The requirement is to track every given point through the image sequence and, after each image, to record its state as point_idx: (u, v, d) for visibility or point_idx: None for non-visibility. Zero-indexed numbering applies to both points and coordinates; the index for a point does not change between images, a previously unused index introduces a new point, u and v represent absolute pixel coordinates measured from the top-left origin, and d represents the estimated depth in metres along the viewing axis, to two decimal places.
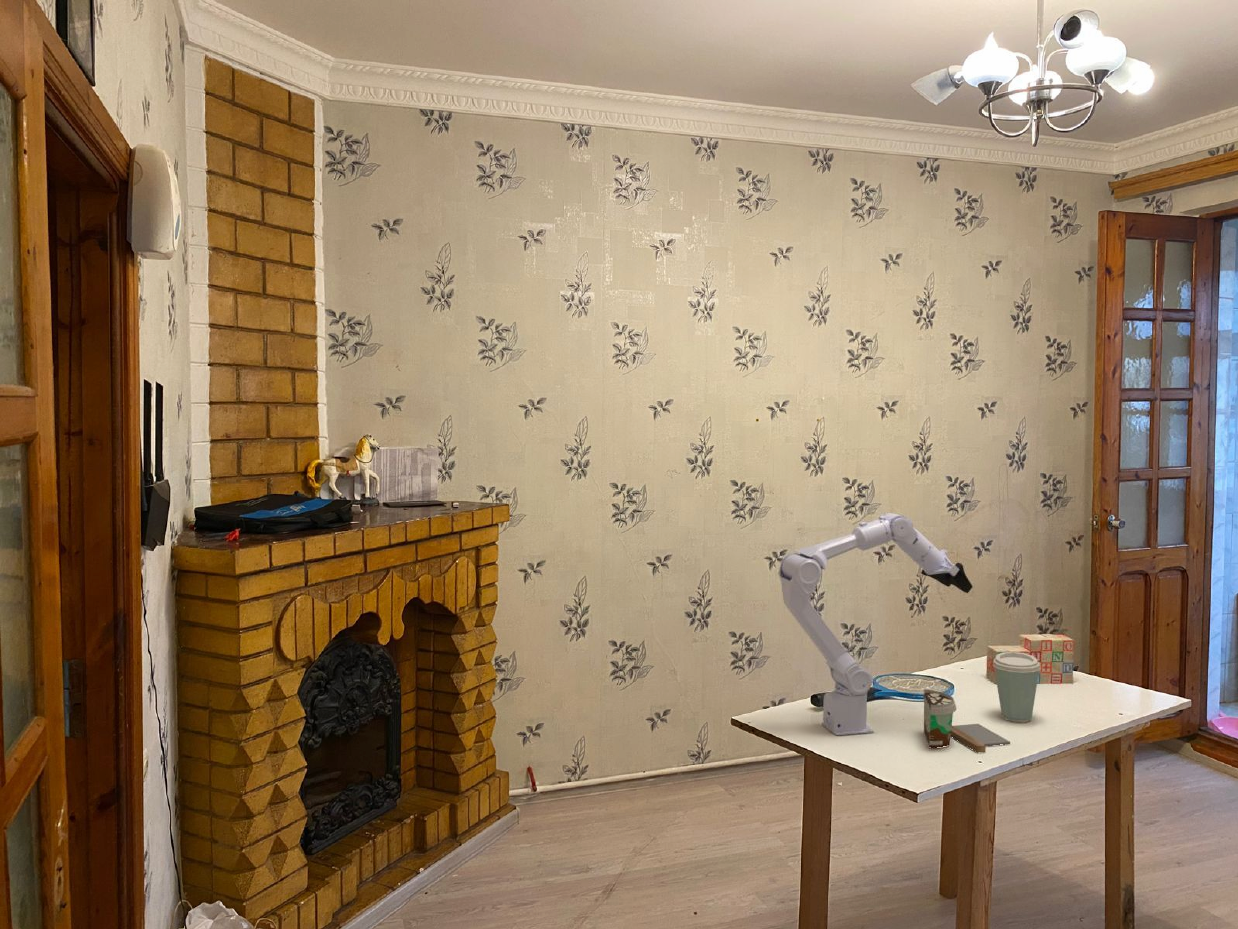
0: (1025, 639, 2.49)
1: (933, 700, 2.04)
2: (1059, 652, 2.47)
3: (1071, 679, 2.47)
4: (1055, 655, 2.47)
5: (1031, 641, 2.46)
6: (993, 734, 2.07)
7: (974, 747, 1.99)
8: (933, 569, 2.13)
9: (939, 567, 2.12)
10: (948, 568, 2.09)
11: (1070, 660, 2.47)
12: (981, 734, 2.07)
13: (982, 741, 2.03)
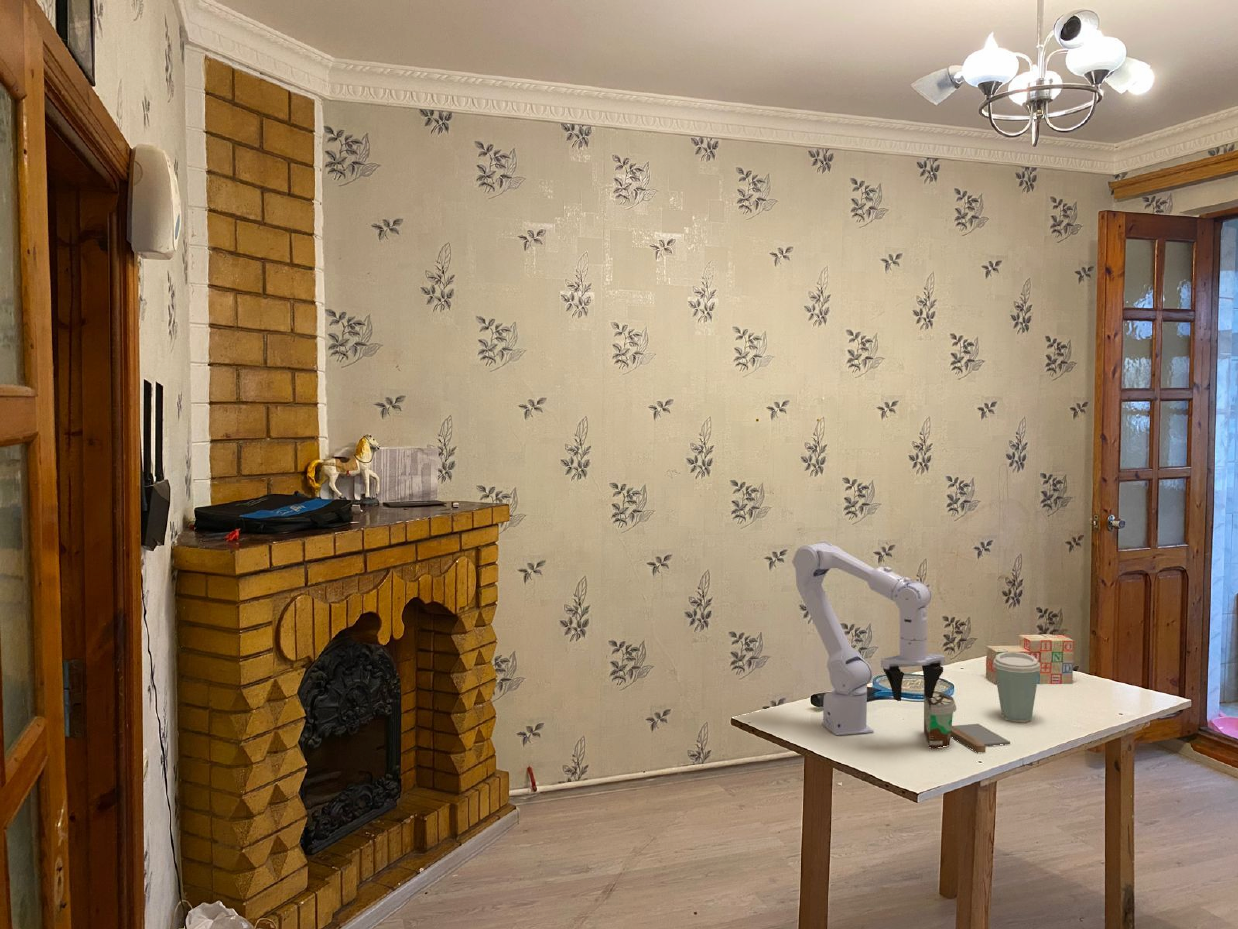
0: (1025, 639, 2.49)
1: (933, 700, 2.04)
2: (1059, 652, 2.47)
3: (1071, 679, 2.47)
4: (1055, 655, 2.47)
5: (1030, 641, 2.46)
6: (993, 734, 2.07)
7: (974, 747, 1.99)
8: None
9: (899, 658, 2.02)
10: None
11: (1070, 660, 2.47)
12: (981, 734, 2.07)
13: (982, 741, 2.03)
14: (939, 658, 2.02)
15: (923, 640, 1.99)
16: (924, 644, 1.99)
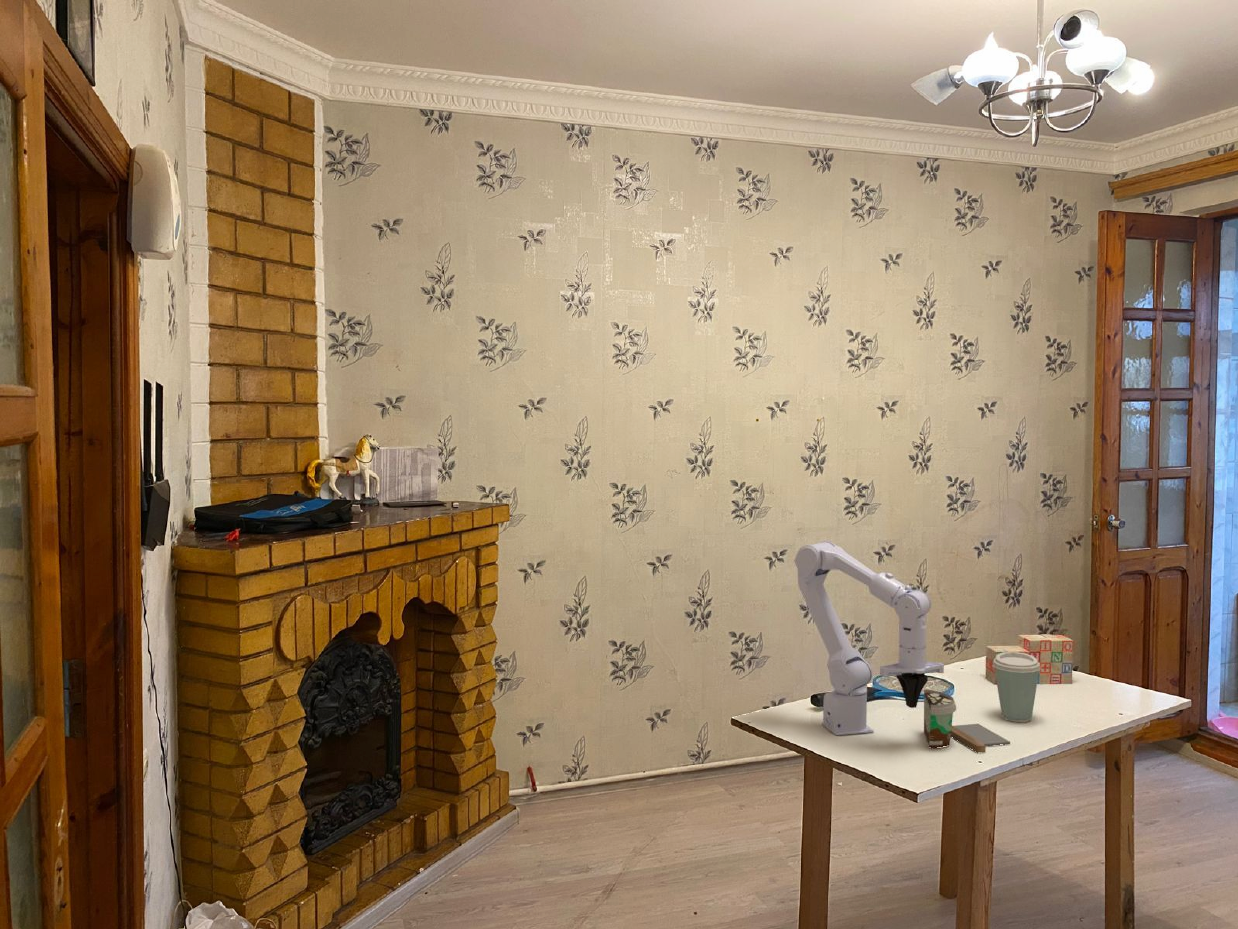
0: (1024, 639, 2.49)
1: (933, 700, 2.04)
2: (1058, 652, 2.47)
3: (1070, 679, 2.47)
4: (1055, 655, 2.47)
5: (1030, 641, 2.46)
6: (993, 734, 2.07)
7: (974, 747, 1.99)
8: None
9: (898, 666, 2.02)
10: None
11: (1069, 660, 2.47)
12: (981, 734, 2.07)
13: (982, 741, 2.03)
14: (938, 666, 2.02)
15: (922, 648, 1.99)
16: (923, 652, 2.00)
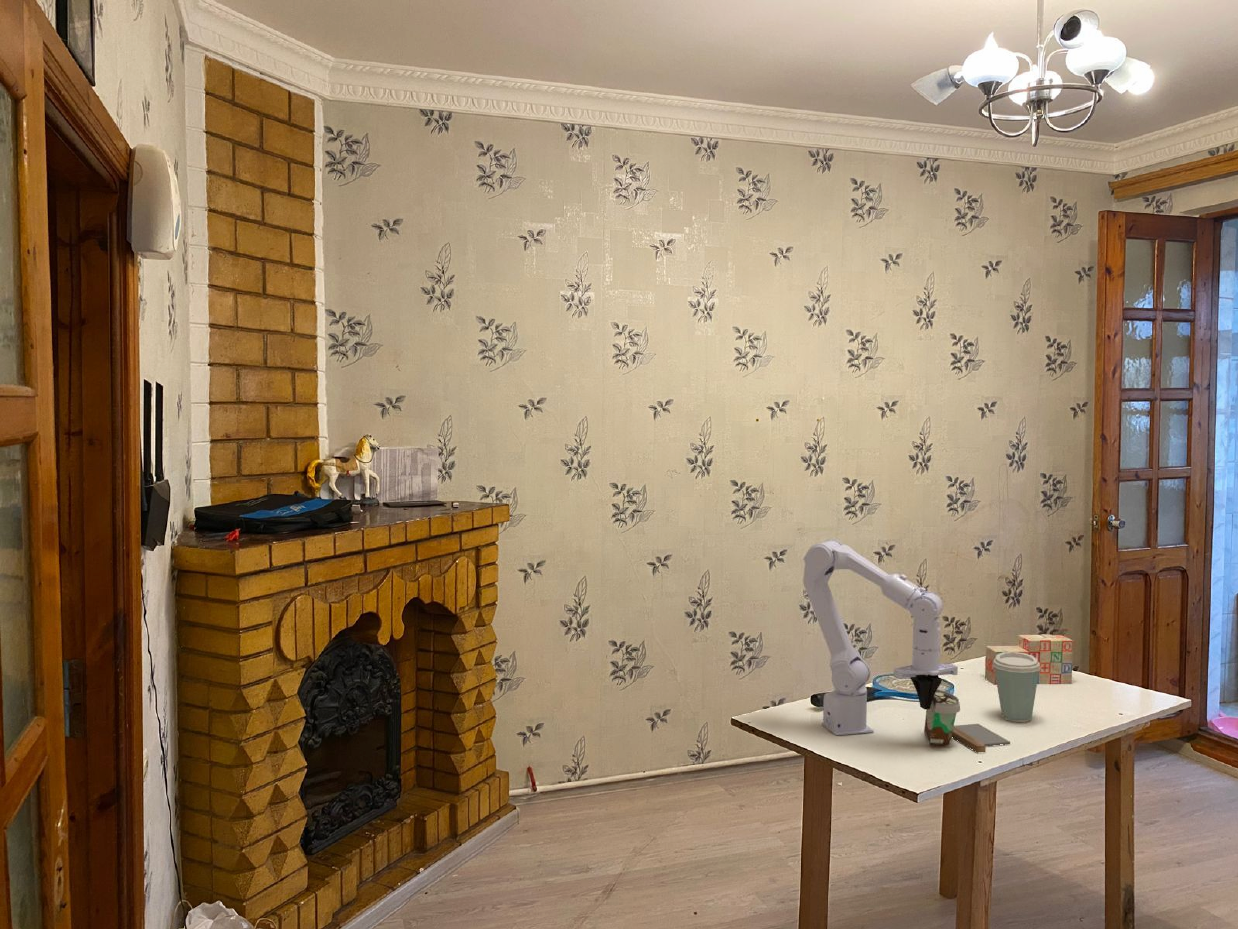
0: (1024, 639, 2.49)
1: (937, 699, 2.04)
2: (1058, 652, 2.46)
3: (1070, 679, 2.47)
4: (1054, 655, 2.46)
5: (1030, 641, 2.46)
6: (993, 734, 2.07)
7: (974, 747, 1.99)
8: None
9: (912, 668, 2.03)
10: None
11: (1069, 660, 2.47)
12: (981, 734, 2.07)
13: (982, 741, 2.03)
14: (952, 668, 2.03)
15: (936, 650, 2.00)
16: (937, 654, 2.00)
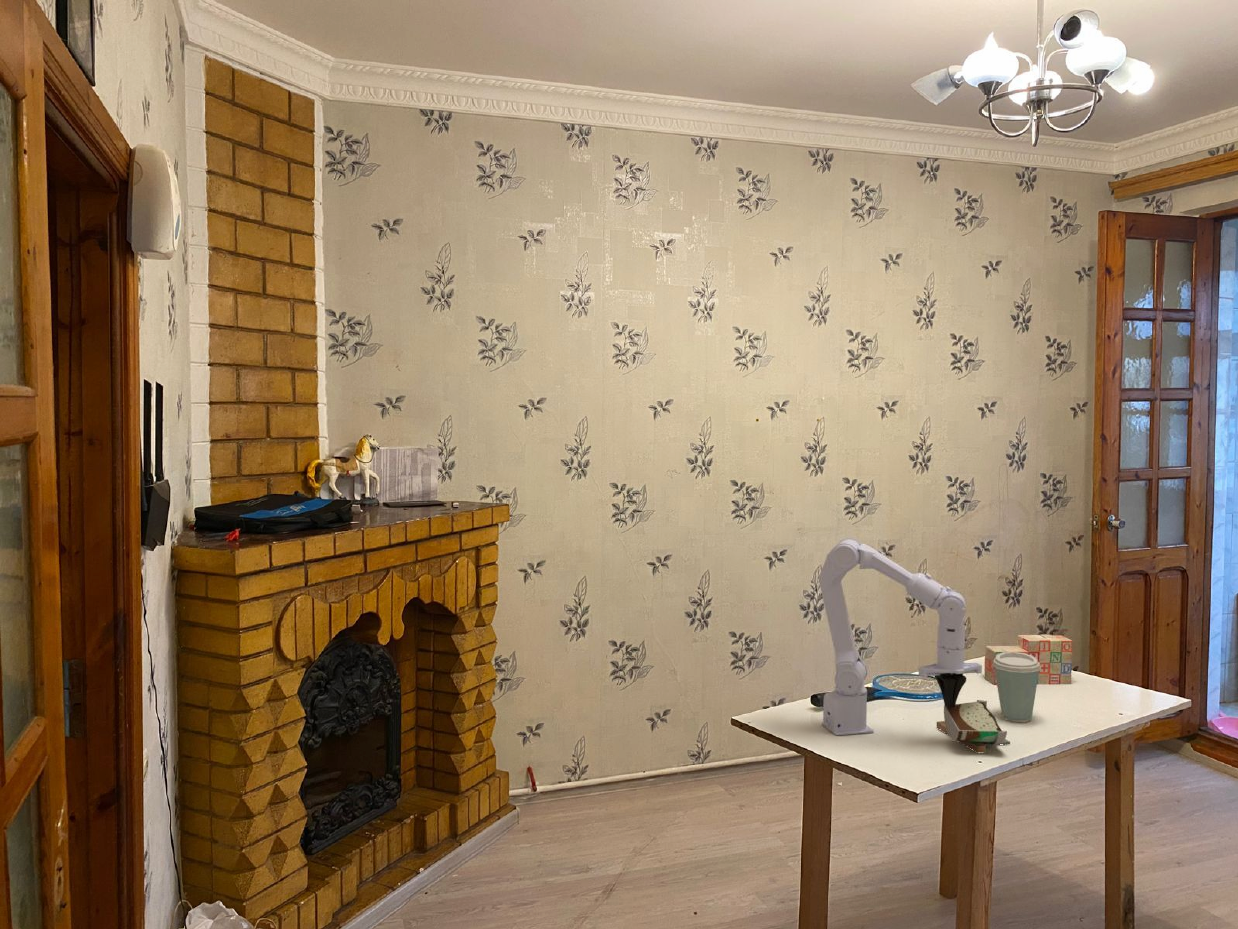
0: (1023, 639, 2.49)
1: None
2: (1057, 653, 2.46)
3: (1069, 680, 2.47)
4: (1054, 656, 2.46)
5: (1029, 641, 2.46)
6: None
7: (974, 747, 1.99)
8: None
9: (936, 666, 2.04)
10: None
11: (1068, 661, 2.47)
12: None
13: None
14: (976, 667, 2.04)
15: (961, 649, 2.01)
16: (962, 653, 2.02)
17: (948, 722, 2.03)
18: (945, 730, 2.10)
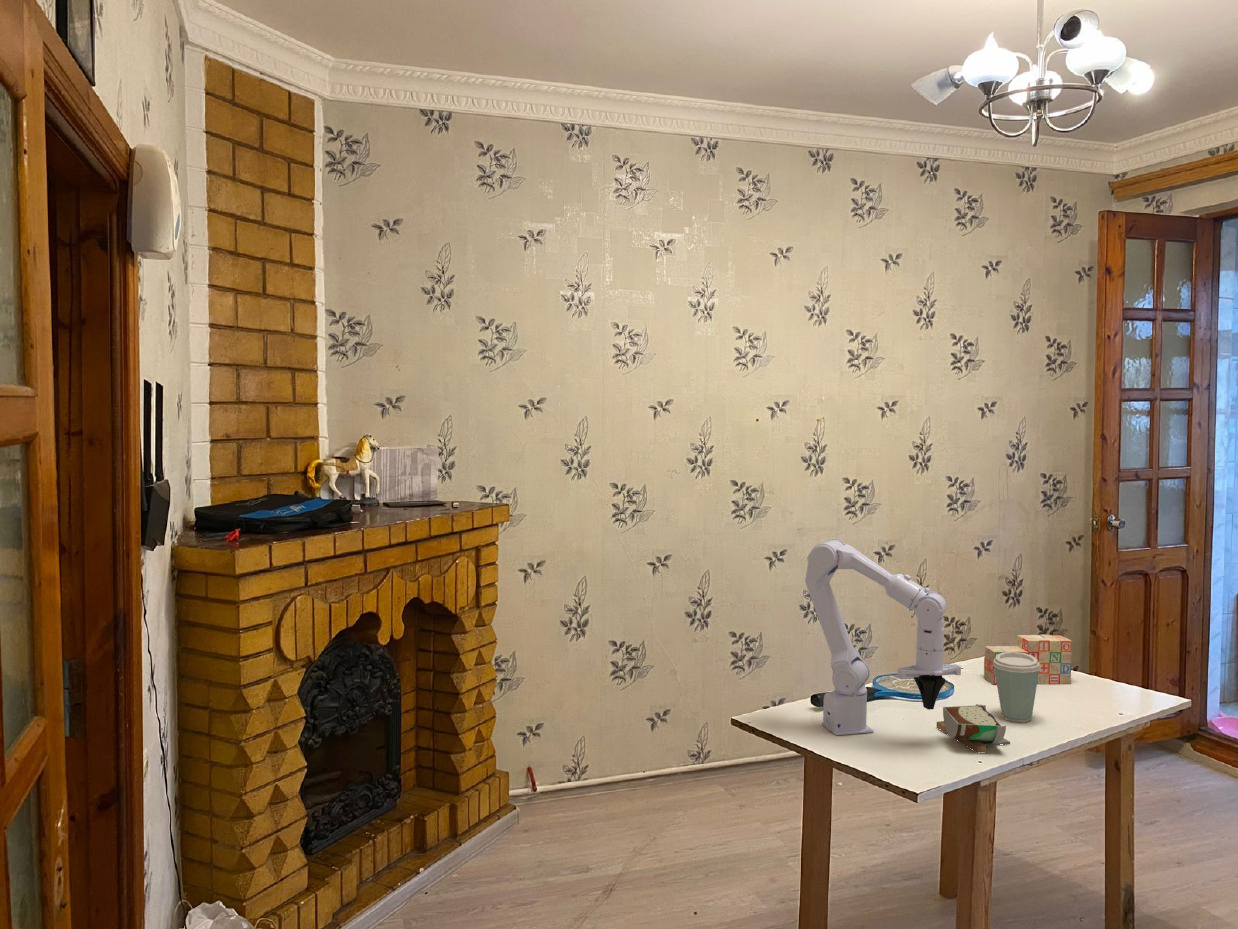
0: (1023, 639, 2.48)
1: None
2: (1057, 653, 2.46)
3: (1069, 680, 2.47)
4: (1053, 656, 2.46)
5: (1028, 641, 2.46)
6: None
7: (974, 747, 1.99)
8: None
9: (915, 668, 2.03)
10: None
11: (1068, 661, 2.46)
12: None
13: (982, 741, 2.03)
14: (955, 668, 2.03)
15: (940, 651, 2.00)
16: (941, 655, 2.01)
17: (947, 722, 2.04)
18: (945, 730, 2.10)
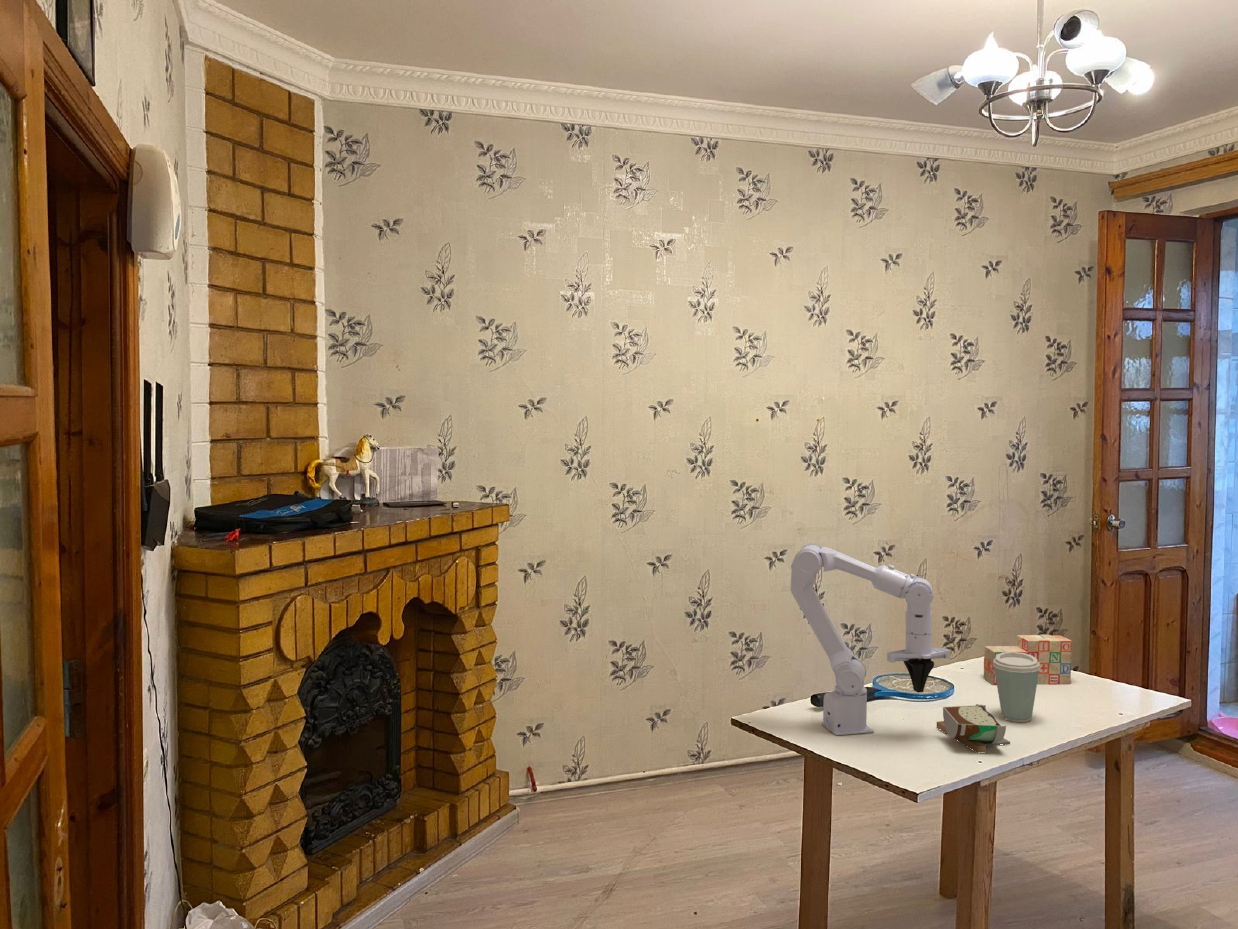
0: (1022, 639, 2.48)
1: None
2: (1057, 653, 2.46)
3: (1069, 680, 2.47)
4: (1053, 656, 2.46)
5: (1028, 641, 2.46)
6: None
7: (974, 747, 1.99)
8: None
9: (905, 652, 2.07)
10: None
11: (1068, 661, 2.46)
12: None
13: (982, 741, 2.03)
14: (944, 652, 2.07)
15: (928, 634, 2.04)
16: (929, 638, 2.05)
17: (947, 722, 2.04)
18: (945, 730, 2.10)
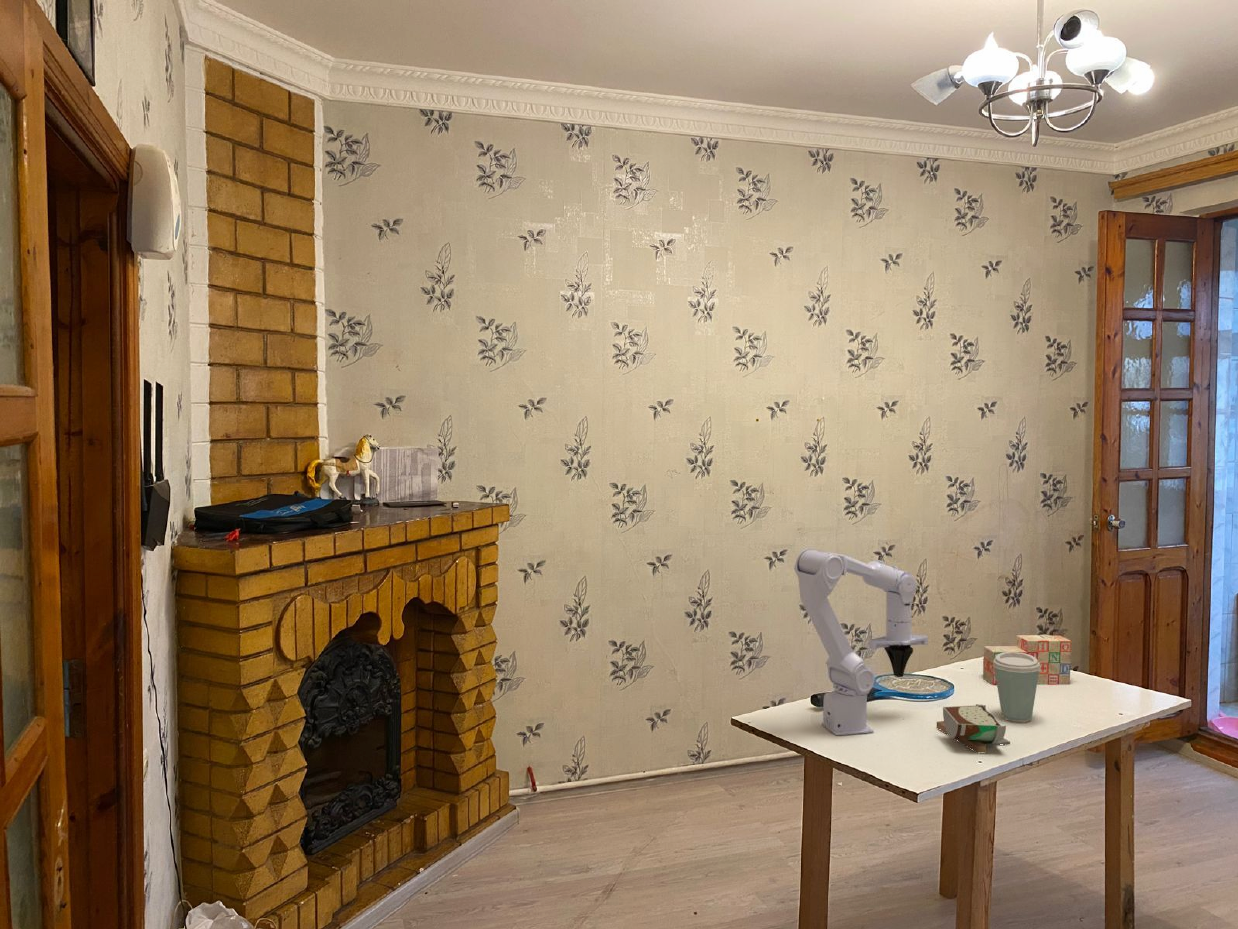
0: (1022, 640, 2.48)
1: None
2: (1056, 653, 2.46)
3: (1068, 680, 2.47)
4: (1052, 656, 2.46)
5: (1027, 642, 2.46)
6: None
7: (974, 747, 1.99)
8: None
9: (885, 638, 2.19)
10: None
11: (1067, 661, 2.46)
12: None
13: (982, 741, 2.03)
14: (923, 639, 2.19)
15: (908, 622, 2.16)
16: (908, 626, 2.16)
17: (947, 722, 2.04)
18: (945, 730, 2.10)
